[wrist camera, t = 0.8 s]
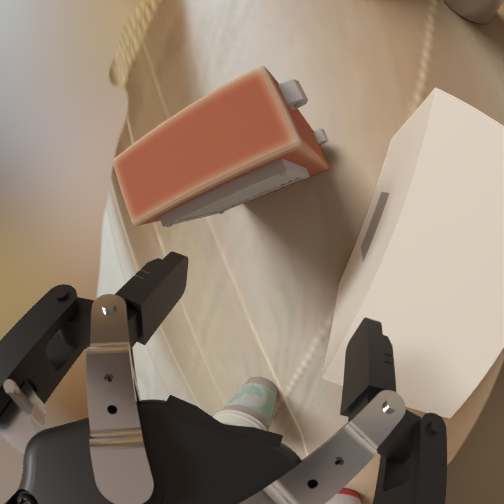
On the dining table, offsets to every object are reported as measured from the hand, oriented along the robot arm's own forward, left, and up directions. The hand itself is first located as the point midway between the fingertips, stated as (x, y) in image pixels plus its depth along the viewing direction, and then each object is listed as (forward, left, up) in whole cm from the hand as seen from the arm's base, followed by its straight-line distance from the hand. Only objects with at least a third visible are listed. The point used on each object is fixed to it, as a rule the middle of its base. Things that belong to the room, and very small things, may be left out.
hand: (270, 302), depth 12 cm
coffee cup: (+27, +11, -25) cm, 39 cm away
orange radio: (-2, -9, -25) cm, 27 cm away
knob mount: (-7, +9, -25) cm, 28 cm away
